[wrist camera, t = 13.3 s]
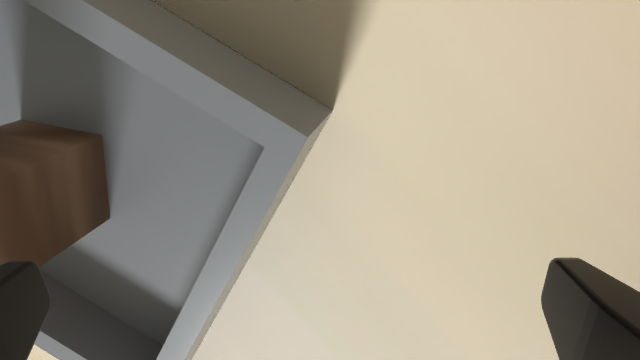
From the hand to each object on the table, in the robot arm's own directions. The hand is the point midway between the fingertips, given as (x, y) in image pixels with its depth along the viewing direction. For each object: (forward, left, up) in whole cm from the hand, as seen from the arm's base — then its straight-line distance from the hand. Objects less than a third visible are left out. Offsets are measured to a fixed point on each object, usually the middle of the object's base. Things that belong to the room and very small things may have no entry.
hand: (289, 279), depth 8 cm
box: (+11, +10, -12) cm, 19 cm away
